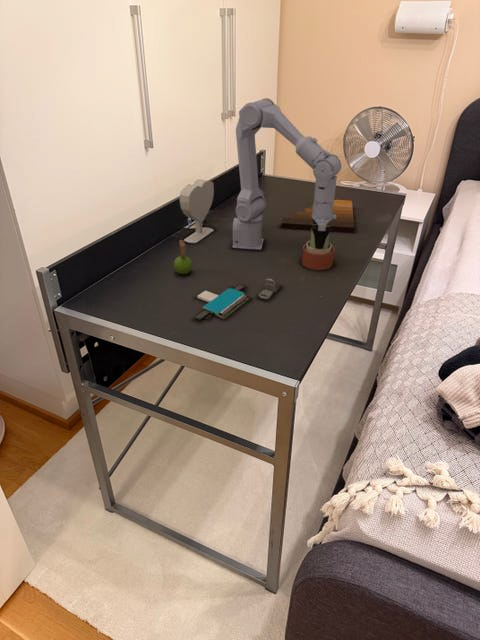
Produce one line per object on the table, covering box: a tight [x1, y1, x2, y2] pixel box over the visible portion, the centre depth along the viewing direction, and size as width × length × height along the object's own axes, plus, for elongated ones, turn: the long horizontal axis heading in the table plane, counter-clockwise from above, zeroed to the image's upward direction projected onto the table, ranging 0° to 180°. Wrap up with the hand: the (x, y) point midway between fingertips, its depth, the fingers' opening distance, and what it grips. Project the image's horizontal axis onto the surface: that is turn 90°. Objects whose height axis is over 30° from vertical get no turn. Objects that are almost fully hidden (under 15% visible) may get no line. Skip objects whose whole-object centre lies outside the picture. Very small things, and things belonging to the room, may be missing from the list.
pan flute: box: [281, 199, 355, 233], centre depth 175 cm, size 25×3×25 cm
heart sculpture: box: [179, 179, 215, 244], centre depth 158 cm, size 16×5×18 cm, turn 152°
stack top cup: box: [305, 240, 333, 254], centre depth 144 cm, size 8×8×6 cm
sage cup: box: [309, 224, 331, 250], centre depth 141 cm, size 6×6×7 cm
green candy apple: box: [173, 239, 193, 275], centre depth 136 cm, size 5×6×12 cm
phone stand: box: [195, 284, 250, 321], centre depth 126 cm, size 20×12×2 cm, turn 146°
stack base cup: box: [301, 243, 336, 271], centre depth 144 cm, size 10×10×5 cm
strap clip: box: [258, 277, 281, 301], centre depth 130 cm, size 8×3×4 cm, turn 150°
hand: (319, 243), depth 142 cm, fingers closed on sage cup, 5 cm apart
